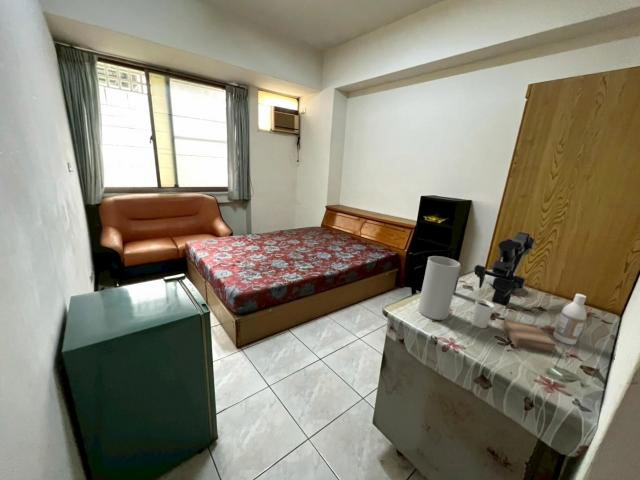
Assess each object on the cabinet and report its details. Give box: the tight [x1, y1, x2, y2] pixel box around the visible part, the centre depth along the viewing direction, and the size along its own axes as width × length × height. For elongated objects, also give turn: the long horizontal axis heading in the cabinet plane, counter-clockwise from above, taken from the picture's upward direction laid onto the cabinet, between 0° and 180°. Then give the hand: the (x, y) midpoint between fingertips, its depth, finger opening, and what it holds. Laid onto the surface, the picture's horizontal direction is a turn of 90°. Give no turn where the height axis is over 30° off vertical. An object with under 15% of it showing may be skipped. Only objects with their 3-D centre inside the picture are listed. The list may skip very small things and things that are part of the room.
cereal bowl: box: [484, 269, 496, 286], centre depth 152 cm, size 17×17×7 cm
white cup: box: [471, 298, 495, 329], centre depth 111 cm, size 7×7×10 cm
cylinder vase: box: [417, 255, 461, 321], centre depth 115 cm, size 12×12×25 cm
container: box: [453, 266, 462, 296], centre depth 138 cm, size 5×5×15 cm
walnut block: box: [501, 320, 556, 354], centre depth 102 cm, size 12×12×4 cm
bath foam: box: [552, 293, 587, 346], centre depth 103 cm, size 7×7×20 cm
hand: (491, 292), depth 113 cm, fingers open, 9 cm apart
